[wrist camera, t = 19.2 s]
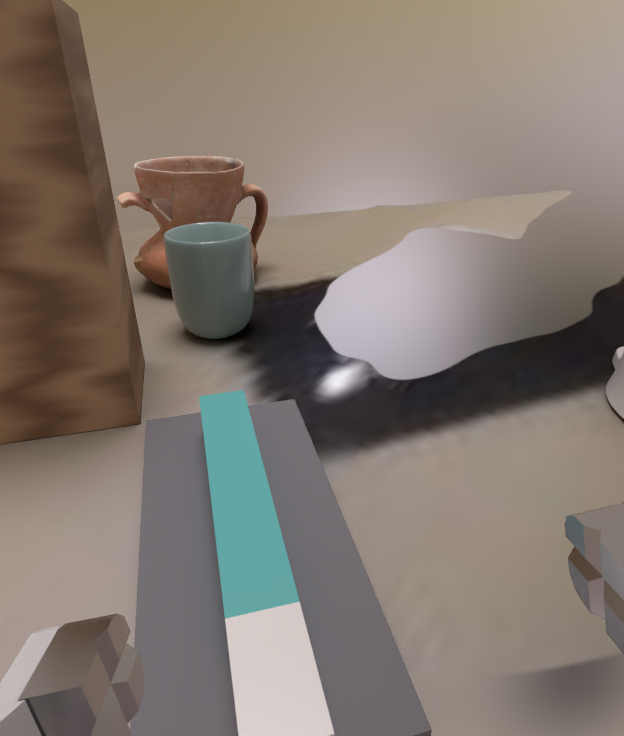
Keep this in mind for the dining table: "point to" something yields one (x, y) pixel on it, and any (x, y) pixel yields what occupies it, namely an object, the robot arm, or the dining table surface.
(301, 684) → the block
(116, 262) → the tall stand
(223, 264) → the cup
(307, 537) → the mat
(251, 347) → the dining table surface
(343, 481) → the dining table surface
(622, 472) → the dining table surface
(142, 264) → the ceramic jug
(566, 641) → the dining table surface
